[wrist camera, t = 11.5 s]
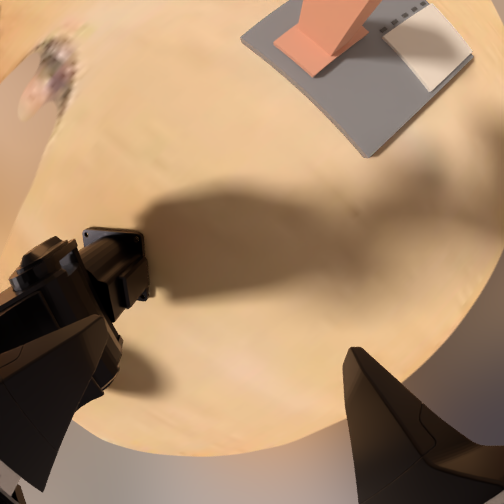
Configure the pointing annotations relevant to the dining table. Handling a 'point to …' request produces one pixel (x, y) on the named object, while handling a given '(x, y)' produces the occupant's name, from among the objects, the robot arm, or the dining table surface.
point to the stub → (325, 32)
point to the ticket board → (372, 67)
